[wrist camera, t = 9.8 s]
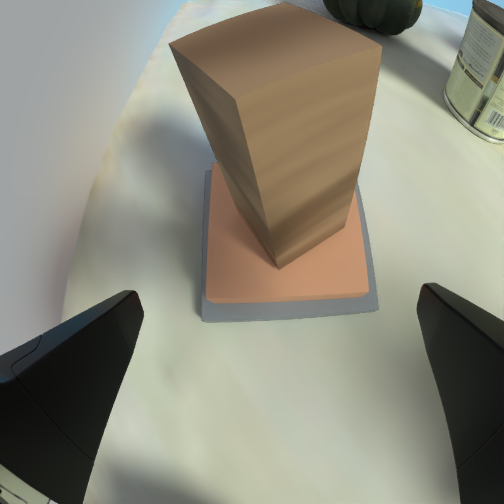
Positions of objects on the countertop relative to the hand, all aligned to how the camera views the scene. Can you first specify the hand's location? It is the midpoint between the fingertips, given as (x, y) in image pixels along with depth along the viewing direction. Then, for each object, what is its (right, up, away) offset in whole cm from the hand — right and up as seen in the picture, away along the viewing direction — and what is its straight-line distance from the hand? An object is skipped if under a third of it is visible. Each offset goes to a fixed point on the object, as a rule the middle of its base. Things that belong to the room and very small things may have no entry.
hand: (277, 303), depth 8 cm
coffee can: (+26, +18, +15) cm, 35 cm away
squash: (+17, +37, +23) cm, 46 cm away
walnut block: (+2, +4, +10) cm, 11 cm away
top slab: (+2, +3, +12) cm, 13 cm away
